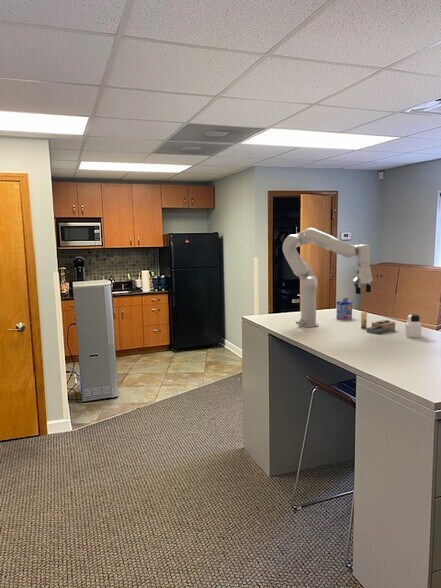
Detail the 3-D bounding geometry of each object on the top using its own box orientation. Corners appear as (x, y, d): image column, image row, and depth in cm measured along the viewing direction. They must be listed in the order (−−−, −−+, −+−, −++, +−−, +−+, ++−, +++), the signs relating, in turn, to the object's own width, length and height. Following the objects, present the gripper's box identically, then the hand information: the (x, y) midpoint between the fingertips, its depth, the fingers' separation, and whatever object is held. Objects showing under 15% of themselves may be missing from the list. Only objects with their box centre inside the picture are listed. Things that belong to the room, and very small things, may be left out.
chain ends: (378, 334, 242) (378, 324, 242) (366, 332, 249) (366, 322, 248) (395, 330, 251) (395, 321, 251) (383, 328, 258) (383, 319, 257)
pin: (364, 328, 258) (364, 312, 257) (359, 328, 260) (360, 312, 259) (367, 328, 260) (367, 312, 258) (363, 327, 262) (363, 311, 261)
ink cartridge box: (341, 319, 287) (341, 298, 285) (335, 318, 292) (336, 297, 290) (352, 318, 291) (352, 297, 290) (347, 317, 296) (347, 296, 295)
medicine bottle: (418, 334, 238) (419, 314, 237) (421, 337, 231) (421, 316, 230) (405, 334, 240) (405, 313, 239) (407, 337, 233) (407, 316, 232)
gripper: (358, 266, 249) (359, 294, 251) (377, 264, 258) (377, 291, 260) (348, 265, 255) (349, 294, 257) (366, 263, 264) (367, 291, 266)
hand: (363, 292), depth 259 cm, fingers open, 9 cm apart
